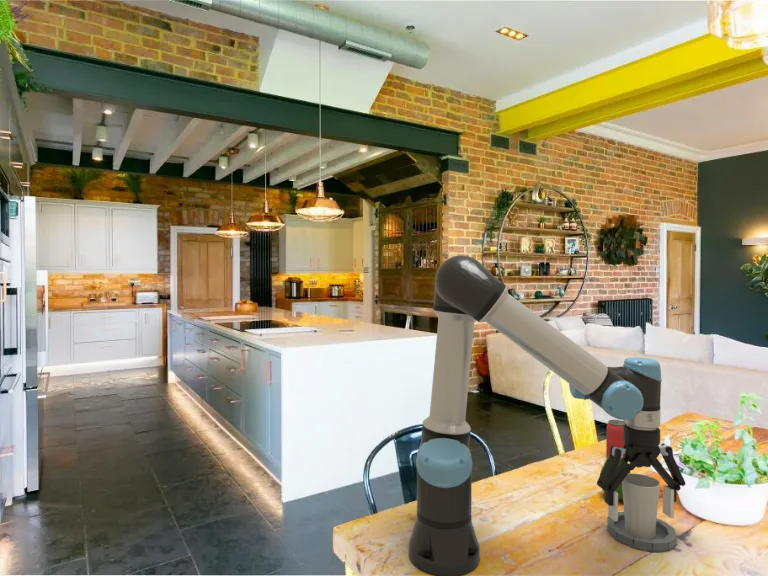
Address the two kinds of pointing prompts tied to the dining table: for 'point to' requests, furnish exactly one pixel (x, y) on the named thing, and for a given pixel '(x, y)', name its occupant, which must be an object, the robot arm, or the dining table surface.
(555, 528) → the dining table surface
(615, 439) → the beer can
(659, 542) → the saucer
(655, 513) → the cup
